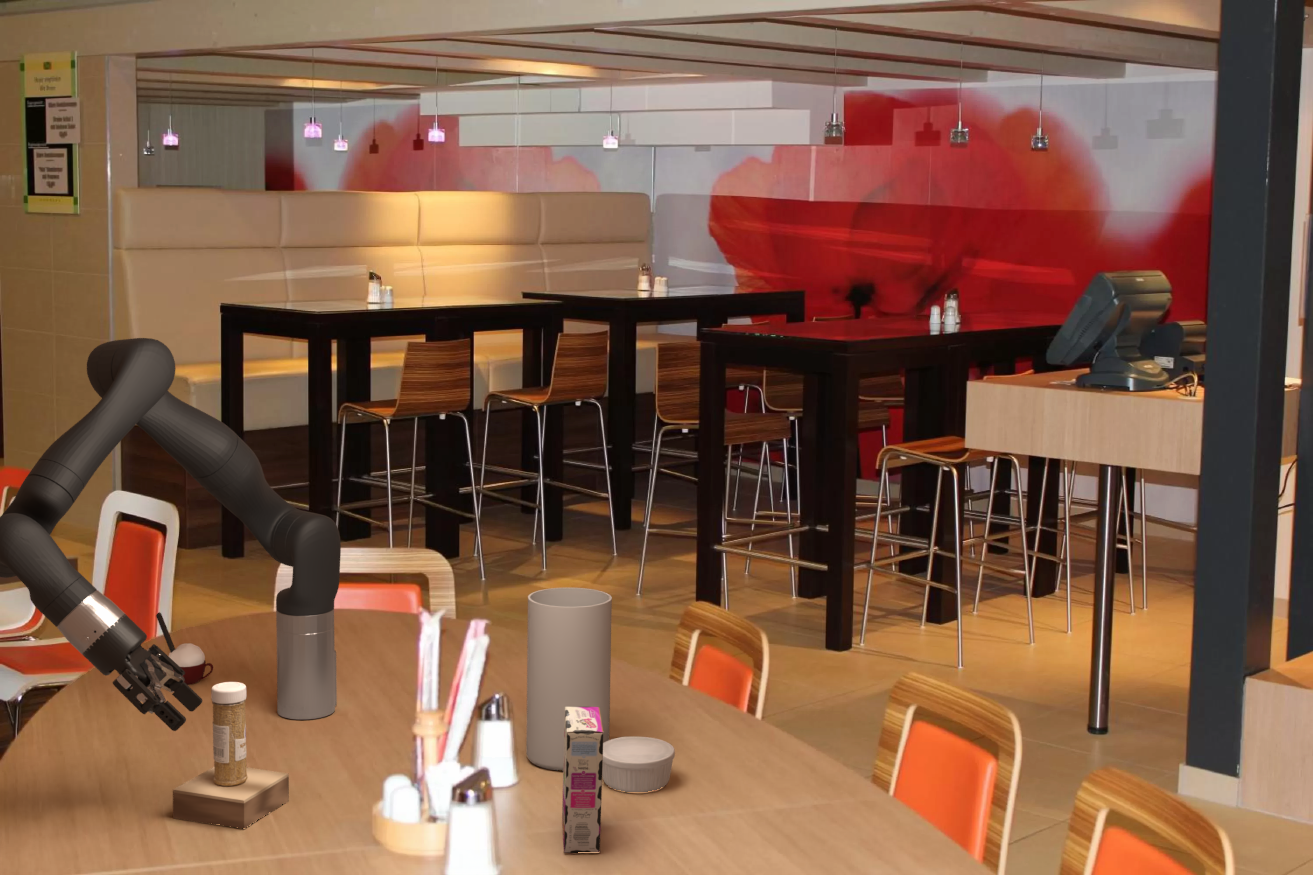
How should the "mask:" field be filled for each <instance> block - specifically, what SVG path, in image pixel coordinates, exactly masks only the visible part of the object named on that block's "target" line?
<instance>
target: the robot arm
mask: <svg viewBox="0 0 1313 875" xmlns="http://www.w3.org/2000/svg"><path fill="white" fill-rule="evenodd" d="M86 361H87V362H86V374H87V378H88V380H89V383H90V385H91V387H92V389H93V390H94V391H95V392H96V394H97V395H98V396H99V397H100V398H101V399H100V400H99V402H98V403H96V404H95V406H93V408H91V410H90V411H89V412H88V413H87V414H86V415H84V416H83V417H82V418H81V419H80V420H78V421H77V422H76V423H75V424H74V425H72V426H71V427H70V428H69V429H68V430H66V431H65V432H64V433H63V434H61V435H60V436H59V437H58V438H57V439H56V440H54V441H53V442H52V443H51V445H50V446H48V447H47V449H46V450H45V451H44V452H43V454H42V455H41V456H40V458H39V459H38V460H37V461H36V463H35V465H34V466H33V468H31V470H30V472H29V473H28V474H27V475H26V477H25V479H24V480H23V482H22V483H21V485H20V487H19V489H18V491H17V493H16V495H15V497H14V499H13V500H12V502H11V503H10V504H9V505H8V506H7V508H6V509H5V510H4V512H3V513H2V514H1V515H0V578H6V579H7V578H13V577H17V578H18V579H19V580H20V581H21V583H22V584H23V585H24V586H25V587H26V588H27V590H28V593H29V600H30V601H31V602H32V604H33V605H34V607H35V608H36V609H37V610H38V611H39V612H40V613H41V614H42V615H43V616H44V617H45V618H46V619H47V620H49V621H50V622H51V624H53V626H55V627H56V628H57V629H58V631H59V632H60V633H61V634H62V635H63V637H64V638H65V639H66V641H68V642H69V643H70V644H71V646H72V647H74V648H75V649H76V650H77V651H78V652H79V653H80V654H81V655H82V656H83V657H84V658H85V659H86V660H87V661H88V662H89V663H91V665H93V666H94V667H95V668H96V669H97V670H98V671H99V672H100V673H101V674H102V675H103V676H109V675H111V674H112V673H113V672H114V671H116V672H117V673H118V676H117V677H116V678H115V679H114V680H113V681H112V685H113V687H115V688H116V689H117V690H118V691H119V692H120V694H122V695H123V697H125V698H126V700H128V701H129V702H130V703H131V704H132V705H133V706H134V707H135V708H136V709H137V711H139V712H140V713H141V714H143V715H146V714H147V713H150V714H154V715H156V717H157V718H159V719H160V720H161V721H162V723H163V724H165V725H166V726H167V727H168V728H169V729H170V730H171V731H173V732H176V731H178V730H179V729H180V728H181V727H182V726H183V725H184V724H185V723H186V722H187V718H186V717H185V715H183V714H182V713H181V712H180V711H179V709H177V708H176V707H175V706H174V705H173V704H172V703H171V702H170V701H169V700H167V699H166V698H165V696H164V695H165V694H164V693H163V692H162V690H161V689H163V690H165V691H167V692H168V693H171V695H172V696H173V697H174V698H175V699H176V700H177V701H178V702H180V704H182V705H183V707H185V708H186V709H187V710H188V711H189V712H192V713H193V712H195V710H196V709H198V708H199V707H200V706H201V704H203V698H202V697H201V696H200V695H199V694H198V693H197V692H196V691H194V689H193V688H191V686H190V685H187V684H186V683H185V682H184V681H185V679H184V677H183V675H184V674H185V672H184V670H183V669H182V668H181V667H179V666H178V665H177V664H176V663H175V662H174V661H173V660H172V659H171V658H170V657H169V655H168V654H167V653H166V652H164V651H163V650H162V649H161V648H160V647H159V646H158V645H157V644H152V645H151V646H150V647H149V648H147V649H145V648H144V647H142V644H143V643H144V642H146V641H147V638H148V635H147V633H146V632H145V631H144V630H142V629H141V628H140V627H139V626H138V624H137V623H135V622H134V620H132V619H131V618H130V617H129V616H128V615H127V613H126V612H124V611H123V610H122V609H121V608H120V607H119V606H118V605H117V604H116V603H115V602H113V600H111V599H110V598H109V597H107V596H106V595H104V594H103V593H102V592H101V591H99V590H97V588H96V587H95V586H94V585H93V584H92V583H91V582H90V581H89V580H88V579H86V577H84V576H83V574H81V573H80V572H79V571H78V570H77V569H75V567H73V565H72V564H71V563H70V561H69V560H68V558H67V556H66V555H65V554H64V552H63V551H62V549H61V548H60V546H59V544H57V543H56V541H55V539H54V538H53V537H52V536H51V534H52V532H53V531H54V529H55V527H56V526H57V524H58V523H59V522H60V521H61V519H63V518H64V516H65V515H66V514H67V513H68V511H69V510H70V509H71V508H72V506H73V505H74V503H75V502H76V501H77V499H78V498H79V497H80V495H81V493H82V492H83V490H84V489H85V487H86V486H87V484H88V483H89V482H90V480H91V478H92V477H93V476H94V474H95V473H96V472H97V470H98V469H99V468H100V466H101V465H102V463H103V462H104V461H105V460H106V459H107V457H108V456H109V455H110V454H111V452H112V451H113V450H114V449H115V448H116V446H118V444H120V442H121V441H122V440H123V439H124V438H125V437H126V436H127V435H128V433H129V432H130V431H131V430H132V429H133V428H134V427H135V426H138V428H140V429H141V430H142V431H144V432H145V433H146V434H148V436H149V437H150V438H152V439H153V440H154V442H155V443H157V445H159V446H160V447H161V448H162V449H163V450H164V452H166V453H167V454H168V455H169V456H170V457H172V458H173V459H174V460H175V461H176V462H177V463H178V464H179V465H180V466H181V467H182V468H183V469H184V470H185V471H186V473H187V474H188V475H190V476H191V477H192V478H193V480H195V481H196V482H197V483H198V484H199V485H200V486H201V487H202V488H203V489H205V491H207V492H208V493H209V494H210V495H212V497H214V498H215V499H216V501H218V502H219V503H220V504H221V505H223V506H224V508H226V509H227V510H228V511H229V512H231V513H232V514H233V515H234V516H235V517H236V518H238V519H239V520H240V522H241V523H242V524H243V525H244V526H245V527H246V529H248V530H249V532H250V533H251V534H252V535H253V537H254V538H255V539H256V540H257V541H258V543H259V544H260V545H261V547H262V548H263V549H264V550H265V551H266V552H267V553H268V555H269V556H270V557H271V558H272V559H273V560H274V561H276V562H278V563H280V564H282V565H284V566H288V567H292V580H291V585H290V586H289V587H287V588H284V589H280V591H278V593H277V594H276V597H275V599H276V601H275V609H276V610H275V613H276V615H275V616H276V618H275V619H276V620H275V621H276V626H275V627H276V677H277V678H276V688H277V689H276V694H277V695H276V698H277V701H276V704H277V706H276V707H277V709H276V710H277V714H278V716H280V717H283V718H286V719H291V720H315V719H320V718H325V717H327V716H330V715H331V714H333V713H334V712H335V710H336V706H337V704H338V701H337V699H338V698H337V697H338V696H337V695H338V694H337V692H338V691H337V689H338V688H337V651H336V649H335V600H336V596H337V595H338V591H339V586H340V574H341V572H340V571H341V550H342V547H341V546H342V545H341V543H342V542H341V536H340V535H341V534H340V529H338V526H337V524H336V522H335V521H334V520H333V519H332V518H331V517H329V516H327V515H324V514H320V513H316V512H312V511H307V510H301V509H300V508H299V509H298V508H296V507H295V506H293V505H292V504H290V503H289V502H288V501H286V500H285V499H284V498H283V497H281V495H279V494H278V493H277V492H276V491H275V490H274V489H273V488H272V487H271V486H270V484H269V483H268V481H267V479H266V477H265V474H264V470H263V468H262V465H261V462H260V460H259V458H258V457H257V455H256V453H255V452H254V450H252V449H251V447H250V446H249V445H248V443H246V442H245V441H244V440H243V439H242V438H241V437H239V435H238V434H237V433H236V432H235V431H234V430H233V429H232V428H231V427H229V426H228V425H226V424H225V423H224V422H222V421H220V420H219V419H217V417H214V416H212V415H210V414H208V413H207V412H205V411H203V410H200V409H198V408H196V407H195V406H193V405H190V404H189V403H188V402H187V403H186V402H185V401H183V400H181V399H179V398H178V397H176V396H175V395H173V394H172V393H171V392H169V390H170V388H171V387H172V385H173V382H174V380H175V376H176V361H175V359H174V355H173V353H172V351H171V350H170V348H169V347H168V346H167V345H166V344H165V343H164V342H162V341H160V340H158V339H155V338H147V337H135V338H126V339H125V338H123V339H115V340H111V341H107V342H103V343H101V344H99V345H97V346H95V348H93V349H92V350H91V351H90V352H89V355H88V357H87V360H86ZM173 670H174V671H175V672H174V671H173Z"/></svg>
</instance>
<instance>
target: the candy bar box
mask: <svg viewBox="0 0 1313 875" xmlns="http://www.w3.org/2000/svg"><path fill="white" fill-rule="evenodd" d="M603 733H604V732H603V727H602V721H601V714H600V708H599V707H565V725H564V759H563V771H562V805H561V806H562V807H561V808H562V813H561V814H562V815H561V818H562V819H561V824H562V840H563V841H562V842H563V853H564V854H565V853H578V852H599V851H600V852H601V831H602V830H601V829H602V825H601V824H602V802H603V801H602V800H603V799H602V797H603V777H602V770H603Z"/></svg>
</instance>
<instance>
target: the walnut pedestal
mask: <svg viewBox="0 0 1313 875" xmlns="http://www.w3.org/2000/svg"><path fill="white" fill-rule="evenodd" d="M214 771H215V770H214V766H213V767H210V768H209V769H207V770H206V771H203V772H202V773H200V774H198V775H197V776H195V777H192V778H191V779H189V780H187V781H185V782H184V783H181V784H180V785H178V786H176V787H175V788H173V789H172V817H173V819H176V820H182V819H183V820H182V821H189V822H194V821H195V823H200V822H203V823H202V824H207V823H210V824H209V825H213V824H215V825H214V826H217V825H216V824H220V825H224V826H223V827H225V826H231V827H238V828H246V827H247V826H249V825H250V824H252V823H253V822H255V821H256V820H258V819H259V818H262V817H263V816H264V815H266V816H268V815H269V814H268V813H269V812H271V811H273V810H274V811H275V809H276V808H277V809H279V808H280V807H282V806H283V805H282V804H284V805H286V803H287V804H288V802H289V801H290V787H289V786H290V785H289V783H290V782H289V780H290V776H289V773H288V772H282V771H276V770H274V771H273V770H268V769H263V768H254V767H249V766H248V767H247V766H246V772H247V777H248V778H247V780H246V781H245V782H243V783H241V784H239V785H235V786H222V785H218V784H216V783H215V782H214ZM278 807H279V808H278ZM277 809H276V810H277ZM274 811H273V812H274ZM271 813H272V812H271ZM267 814H268V815H267ZM263 818H264V817H263ZM263 818H262V819H263ZM211 823H212V824H211ZM255 823H256V822H255ZM252 825H253V824H252ZM231 827H230V828H231ZM249 827H250V826H249ZM238 828H237V829H238ZM246 829H247V828H246Z"/></svg>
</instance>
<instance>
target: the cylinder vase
mask: <svg viewBox="0 0 1313 875" xmlns="http://www.w3.org/2000/svg"><path fill="white" fill-rule="evenodd" d="M612 598H613V597H612V595H611V594H609V593H607V592H605V591H601V590H598V589H593V588H586V587H585V588H584V587H553V588H551V587H550V588H545V589H539V590H536V591H534V592H531V593H530V594H528V595H527V645H526V646H527V647H526V648H527V651H526V655H527V658H526V659H527V662H526V666H527V667H526V738H525V739H526V740H525V741H526V743H525V744H526V750H525V751H526V753H525V754H526V758H527V759H528V760H529V761H530V762H531V763H532V764H533V765H535V766H537V767H540V768H542V769H547V770H552V771H558V770H562V771H561V772H563V759H564V725H565V707H599V708H600V714H601V721H602V727H603V732H604V733H603V743H604V742H606V741H609V740H610V729H611V728H610V725H611V723H610V720H611V718H610V717H611V716H610V714H611V712H610V711H611V672H612V671H611V667H612V666H611V662H612V651H611V650H612V608H613V607H612V606H613V605H612V604H613V603H612V602H613V601H612V600H613V599H612Z"/></svg>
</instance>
